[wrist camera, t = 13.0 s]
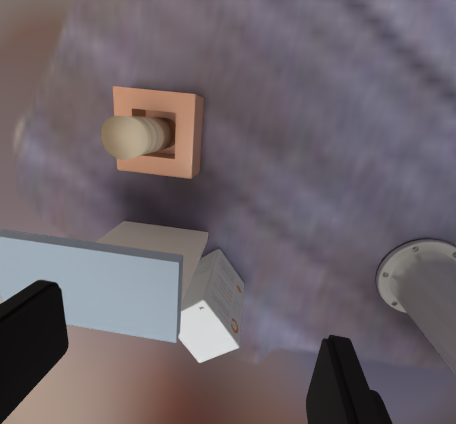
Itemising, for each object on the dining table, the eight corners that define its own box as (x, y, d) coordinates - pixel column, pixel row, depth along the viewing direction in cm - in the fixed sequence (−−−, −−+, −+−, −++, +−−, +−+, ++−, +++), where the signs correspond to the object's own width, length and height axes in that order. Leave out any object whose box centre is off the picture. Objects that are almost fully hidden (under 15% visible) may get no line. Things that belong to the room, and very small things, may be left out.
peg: (179, 119, 34) (141, 117, 23) (178, 149, 36) (141, 161, 25) (150, 116, 35) (99, 113, 24) (150, 146, 36) (102, 157, 25)
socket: (204, 98, 34) (195, 94, 30) (199, 171, 38) (191, 178, 33) (132, 91, 35) (112, 86, 30) (134, 164, 38) (117, 169, 34)
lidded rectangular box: (218, 193, 38) (178, 262, 19) (213, 241, 41) (176, 342, 22) (116, 181, 40) (-15, 234, 21) (118, 228, 42) (5, 313, 23)
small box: (188, 263, 43) (161, 319, 31) (219, 247, 41) (203, 299, 29) (215, 299, 45) (198, 365, 33) (245, 284, 43) (241, 348, 31)
